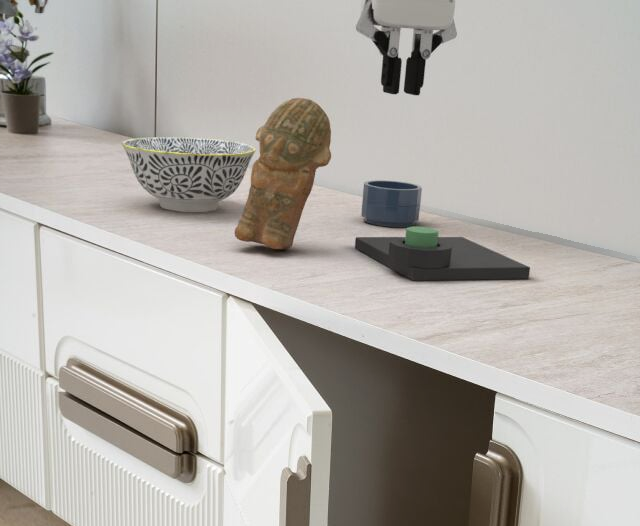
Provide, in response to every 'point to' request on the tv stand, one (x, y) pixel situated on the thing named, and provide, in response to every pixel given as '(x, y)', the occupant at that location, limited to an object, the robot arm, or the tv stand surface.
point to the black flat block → (442, 259)
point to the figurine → (284, 172)
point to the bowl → (188, 170)
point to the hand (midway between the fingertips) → (401, 92)
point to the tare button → (421, 237)
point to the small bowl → (391, 203)
